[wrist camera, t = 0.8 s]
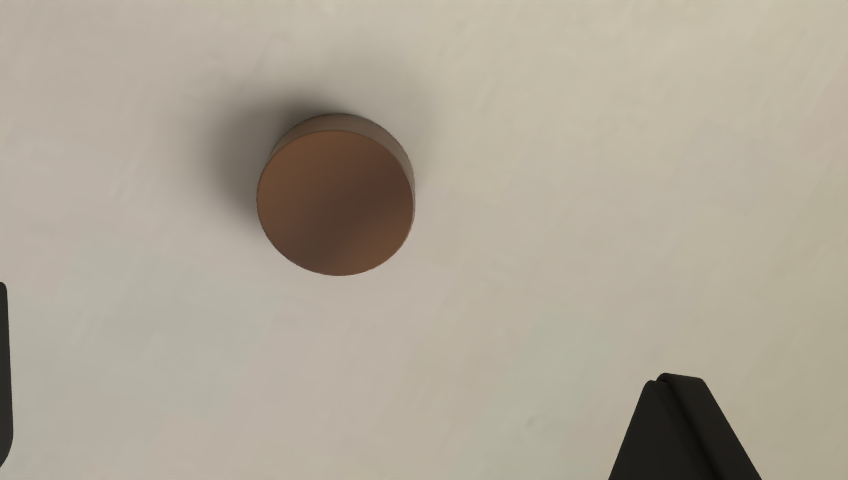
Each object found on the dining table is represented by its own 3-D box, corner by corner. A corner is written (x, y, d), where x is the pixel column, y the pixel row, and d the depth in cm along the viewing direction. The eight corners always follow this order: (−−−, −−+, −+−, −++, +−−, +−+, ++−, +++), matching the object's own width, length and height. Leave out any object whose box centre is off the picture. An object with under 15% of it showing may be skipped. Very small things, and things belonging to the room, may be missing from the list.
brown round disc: (234, 179, 26) (222, 199, 24) (343, 81, 24) (338, 96, 23) (337, 278, 27) (333, 303, 26) (445, 192, 26) (447, 212, 24)
